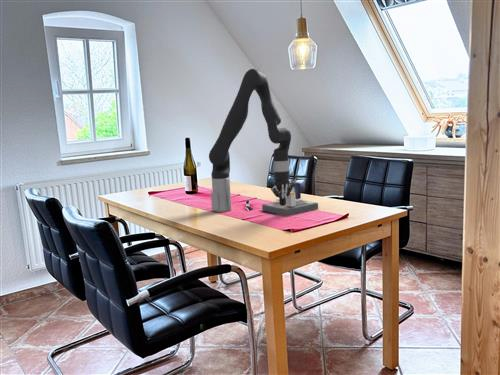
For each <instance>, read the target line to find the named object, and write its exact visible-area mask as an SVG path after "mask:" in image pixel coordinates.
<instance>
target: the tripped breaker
mask: <svg viewBox="0 0 500 375" xmlns="http://www.w3.org/2000/svg"><path fill="white" fill-rule="evenodd" d="M286 206H290V207H292V206H296V196H295V192H290V194H289V196H287V197H286Z"/></svg>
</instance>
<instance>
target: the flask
mask: <svg viewBox="0 0 500 375" xmlns="http://www.w3.org/2000/svg"><path fill="white" fill-rule="evenodd" d="M289 182H290V184H291V185H293V188H294V192H295V196H296V199H298V200H301V197H302V194H301V193H302V192H301V183H300V182H298V181H295V179H291V180H290V181H289Z"/></svg>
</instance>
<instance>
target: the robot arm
mask: <svg viewBox="0 0 500 375" xmlns="http://www.w3.org/2000/svg"><path fill="white" fill-rule="evenodd" d="M240 83H241V84H240V86H239V90H238V91H237V94H236V96H235V99H234V101H233V102H232V103H233V104H232V105H231V107H230V110H229V111H228V114H227V115H226V117H225V121H224V122H223V125H222V128H221V131H220V133H219V135H218V137H217V140H216V141H215V142H214V144H213V146H212V148H211V149H210V150H209V153H208V159H209V162H210V163H211V164H212V169H211V190H212V192H211V193H210V200H211V211H212V212H216V213H225V212H230V211H231V210H232V200H231V199H232V198H231V196H232V195H231V180H230V179H231V178H230V173H231V171H230V170H231V159H230V157H231V155H230V152H229V150H230V148H231V145H232V144H233V141H234V140H235V139H236V138H237V136H238V135H239V133H240V132H241V130H242V129H243V126H244V124H245V122H246V121H247V118H248V115H249V102H250V98H251V96H252V94H253V93H254V91H255V92H256V94H257V96H258V97H259V99H260V104H261V106H260V107H261V112H262V116H263V118H264V120H265V122H266V126H267V133H268V138H269V140H270V142H271V143H272V144H279V145H278V147H277V148H274V150H273V179H274V184H273V187H270V190H271V192H272V194H274V196H275V197H276V198H279V200H278V201H280V205H281V206H284V205H285V204H286V197H287V196H289V194H290V192H291V190H292V188H293V185H291V184H290V182H291V181H290V178H291V177H290V161H289V150H290V145H291V140H292V134H291V131H290V129H289V128H287V127H281V128H280V127H279V128H278V126H279V125H280V124H281V123H282V118H281V116H280V114H279V111H278V109H277V107H276V105H275V103H274V100H273V97H272V93H271V90H270V86H269V82H268V78H267V76H266V75H265V73H264V72H262V71H259V70H258V69H254V68H250V69H248V70H247V71H246V72H245V74H244V75H243V78H242V80H241V82H240Z"/></svg>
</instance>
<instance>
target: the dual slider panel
mask: <svg viewBox="0 0 500 375" xmlns="http://www.w3.org/2000/svg"><path fill="white" fill-rule="evenodd" d="M261 207H262V208H261V210H262V211H263V212H264V211H265V212H268V213H273V214H278V215H281V216H286V217H287V216H288V217H289V216H293V215H297V214H301V213H306V211H307V212H310V211H309V210H311V211H314V209H315V210H319V202H315V201H314V202H313V201H309V200H303V199H296V206H292V207H290V206H286V204H285V205H284V206H281V205H280V201H279V200H278V201H274V202H269V203H264V204H262V205H261Z"/></svg>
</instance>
